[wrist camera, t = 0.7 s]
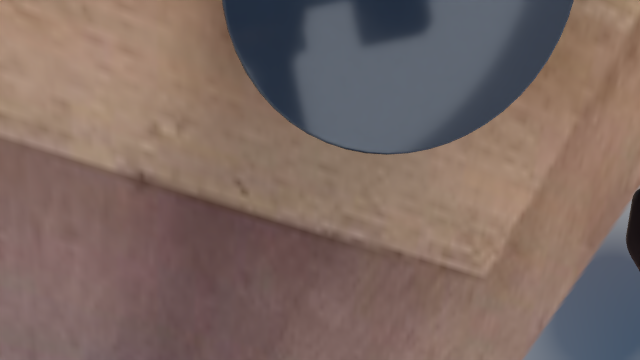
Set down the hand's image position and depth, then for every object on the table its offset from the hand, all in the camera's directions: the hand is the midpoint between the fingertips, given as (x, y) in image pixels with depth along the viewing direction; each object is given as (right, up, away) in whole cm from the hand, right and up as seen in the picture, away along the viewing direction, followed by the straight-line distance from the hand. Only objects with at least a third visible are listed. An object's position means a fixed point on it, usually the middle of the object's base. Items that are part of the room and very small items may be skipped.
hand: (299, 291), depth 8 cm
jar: (+2, +9, +12) cm, 15 cm away
